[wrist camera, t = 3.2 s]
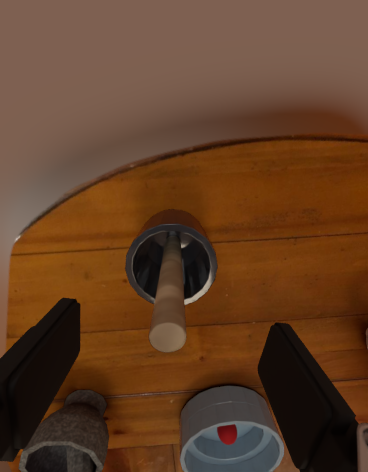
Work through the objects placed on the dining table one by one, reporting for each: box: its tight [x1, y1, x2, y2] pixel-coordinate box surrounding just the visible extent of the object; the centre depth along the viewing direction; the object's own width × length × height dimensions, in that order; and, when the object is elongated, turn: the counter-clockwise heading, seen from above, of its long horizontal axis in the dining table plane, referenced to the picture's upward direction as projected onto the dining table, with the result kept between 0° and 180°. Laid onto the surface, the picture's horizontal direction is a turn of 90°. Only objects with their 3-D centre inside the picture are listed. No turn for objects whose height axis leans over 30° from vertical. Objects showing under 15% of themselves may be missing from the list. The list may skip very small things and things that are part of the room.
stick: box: [149, 236, 186, 352], centre depth 16 cm, size 2×2×14 cm
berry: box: [217, 424, 237, 445], centre depth 30 cm, size 3×3×3 cm
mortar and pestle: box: [19, 390, 109, 472], centre depth 25 cm, size 11×9×12 cm
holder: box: [125, 209, 217, 305], centre depth 20 cm, size 8×8×7 cm
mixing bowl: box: [179, 386, 284, 472], centre depth 30 cm, size 14×14×5 cm
